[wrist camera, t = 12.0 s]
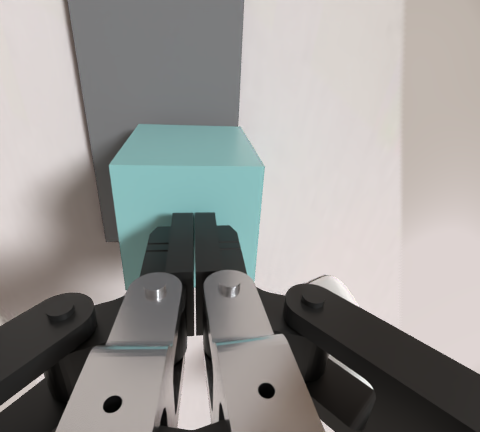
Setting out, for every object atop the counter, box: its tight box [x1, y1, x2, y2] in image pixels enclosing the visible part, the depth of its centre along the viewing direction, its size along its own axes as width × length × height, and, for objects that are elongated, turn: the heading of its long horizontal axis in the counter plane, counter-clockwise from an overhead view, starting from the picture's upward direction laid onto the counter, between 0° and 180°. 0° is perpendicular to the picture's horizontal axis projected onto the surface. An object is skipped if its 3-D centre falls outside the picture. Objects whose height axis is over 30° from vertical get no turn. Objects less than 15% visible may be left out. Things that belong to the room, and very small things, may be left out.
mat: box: [67, 0, 244, 242], centre depth 16 cm, size 24×8×1 cm, turn 177°
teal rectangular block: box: [109, 124, 265, 290], centre depth 15 cm, size 5×5×7 cm
